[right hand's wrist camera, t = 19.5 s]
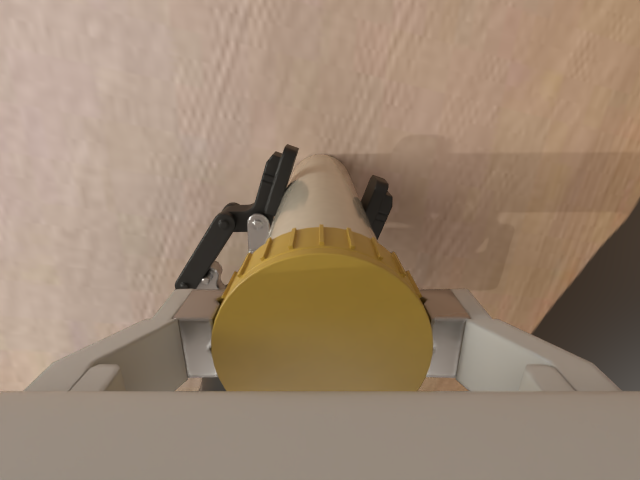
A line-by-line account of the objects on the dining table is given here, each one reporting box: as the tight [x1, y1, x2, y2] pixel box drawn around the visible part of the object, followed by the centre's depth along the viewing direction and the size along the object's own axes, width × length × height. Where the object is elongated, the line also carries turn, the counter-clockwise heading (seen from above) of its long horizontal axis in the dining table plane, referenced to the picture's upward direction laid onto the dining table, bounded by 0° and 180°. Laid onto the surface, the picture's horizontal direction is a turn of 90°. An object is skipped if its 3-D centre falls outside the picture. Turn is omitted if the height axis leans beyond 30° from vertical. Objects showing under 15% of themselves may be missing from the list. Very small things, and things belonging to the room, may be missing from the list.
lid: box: [211, 224, 433, 391], centre depth 9 cm, size 6×6×2 cm
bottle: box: [264, 154, 378, 244], centre depth 18 cm, size 5×5×18 cm
